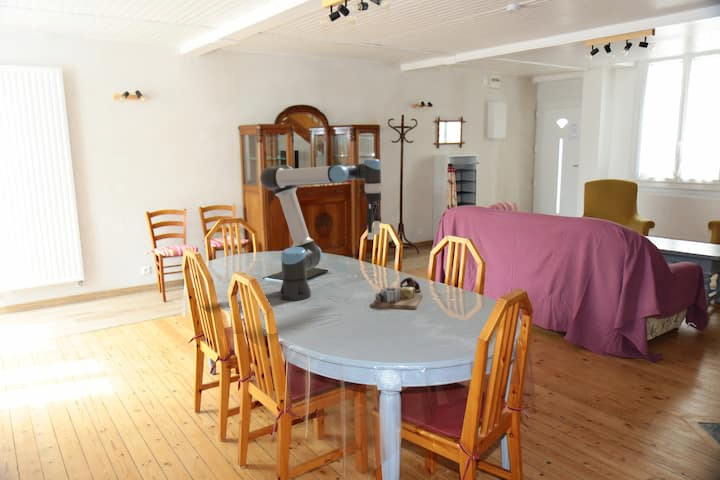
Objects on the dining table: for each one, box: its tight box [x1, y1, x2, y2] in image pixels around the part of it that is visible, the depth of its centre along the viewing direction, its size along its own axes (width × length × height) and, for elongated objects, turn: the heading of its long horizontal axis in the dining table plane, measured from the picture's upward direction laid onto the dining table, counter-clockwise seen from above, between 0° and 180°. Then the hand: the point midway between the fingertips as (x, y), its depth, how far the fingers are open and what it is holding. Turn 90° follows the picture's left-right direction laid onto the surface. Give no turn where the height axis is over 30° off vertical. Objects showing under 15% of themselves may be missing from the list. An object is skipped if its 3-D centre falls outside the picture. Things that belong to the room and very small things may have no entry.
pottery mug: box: [399, 277, 421, 293], centre depth 276 cm, size 12×10×8 cm
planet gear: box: [380, 286, 401, 303], centre depth 256 cm, size 9×9×5 cm
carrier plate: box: [371, 287, 424, 310], centre depth 259 cm, size 20×20×6 cm
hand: (373, 236), depth 266 cm, fingers open, 13 cm apart
